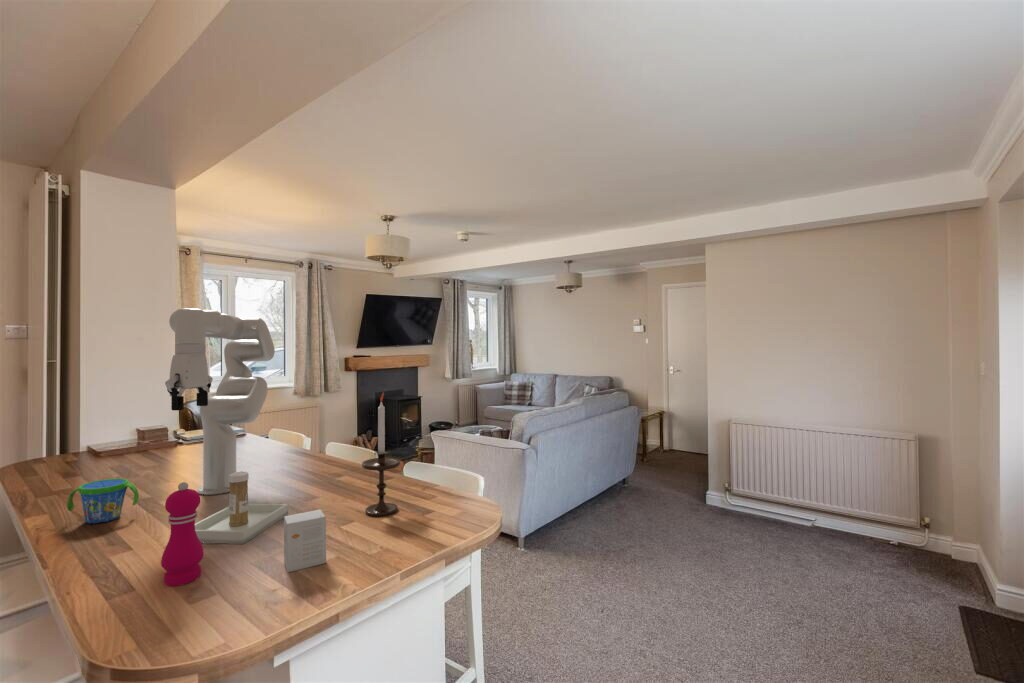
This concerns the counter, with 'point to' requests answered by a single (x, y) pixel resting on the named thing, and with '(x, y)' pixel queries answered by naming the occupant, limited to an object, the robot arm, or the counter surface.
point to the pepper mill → (182, 538)
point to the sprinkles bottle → (238, 498)
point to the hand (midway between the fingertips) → (190, 407)
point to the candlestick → (381, 469)
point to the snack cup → (102, 499)
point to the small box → (304, 540)
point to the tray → (258, 521)
